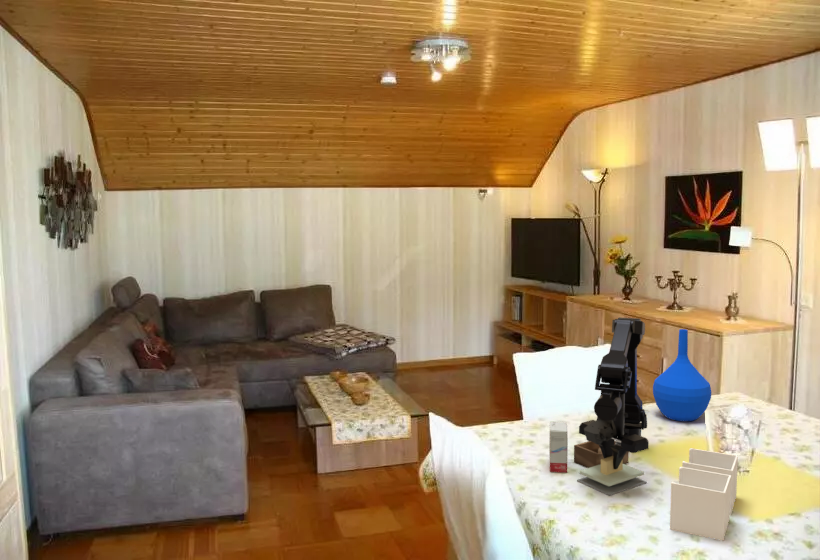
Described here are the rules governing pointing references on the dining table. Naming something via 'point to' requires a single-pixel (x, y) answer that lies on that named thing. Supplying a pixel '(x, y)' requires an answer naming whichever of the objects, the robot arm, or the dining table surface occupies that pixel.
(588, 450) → the box
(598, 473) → the lid
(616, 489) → the mat
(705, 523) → the storage container
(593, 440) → the robot arm
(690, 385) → the vase
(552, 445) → the ink box
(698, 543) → the dining table surface
